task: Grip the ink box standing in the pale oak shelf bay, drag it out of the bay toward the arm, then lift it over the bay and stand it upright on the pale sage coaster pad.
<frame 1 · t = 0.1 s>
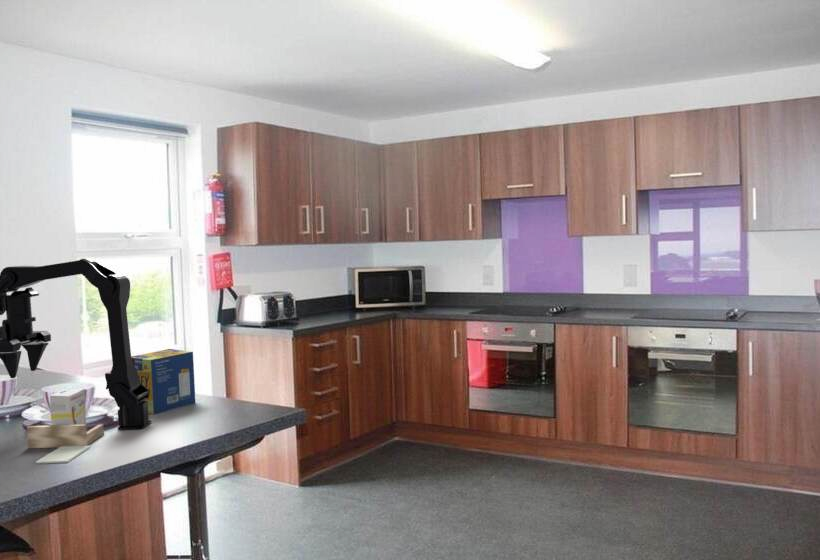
hand: (23, 374, 183), 15 cm above the breakfast bar, fingers open, 9 cm apart
coaster pad: (64, 455, 160), on the breakfast bar
ink box: (70, 439, 174), on the breakfast bar
protein box: (163, 407, 204), on the breakfast bar
shelf bay: (70, 439, 174), on the breakfast bar
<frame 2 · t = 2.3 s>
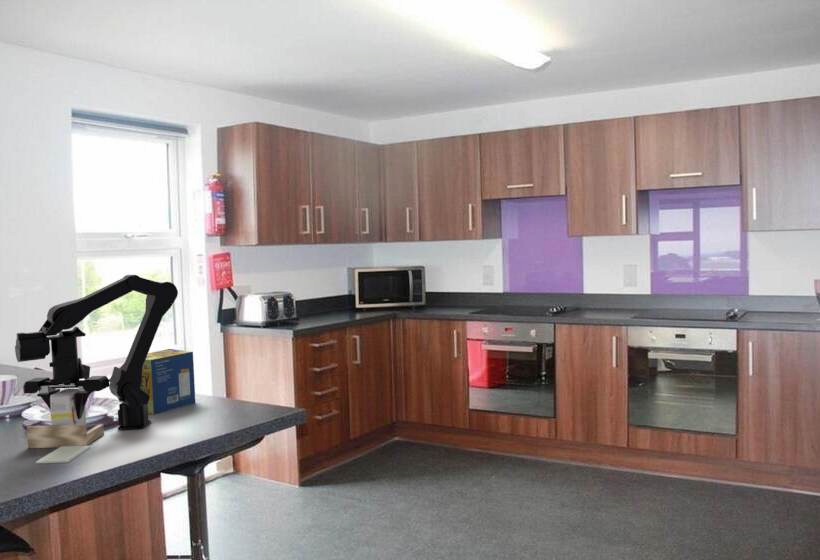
hand: (69, 419, 173), 5 cm above the breakfast bar, fingers closed on ink box, 5 cm apart
ink box: (70, 439, 174), on the breakfast bar, touching gripper
everything else where it was.
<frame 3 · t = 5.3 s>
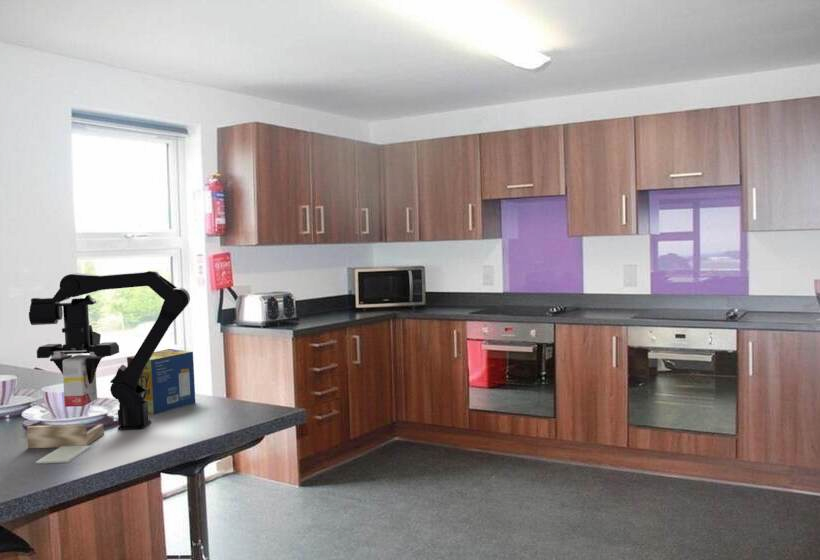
hand: (80, 383, 180), 12 cm above the breakfast bar, fingers closed on ink box, 5 cm apart
ink box: (81, 403, 180), point 7 cm above the breakfast bar, touching gripper
everything else where it was.
when the fingers open (6 cm above the breakfast bar, at t = 8.6 s): ink box stays where it is, resting on coaster pad.
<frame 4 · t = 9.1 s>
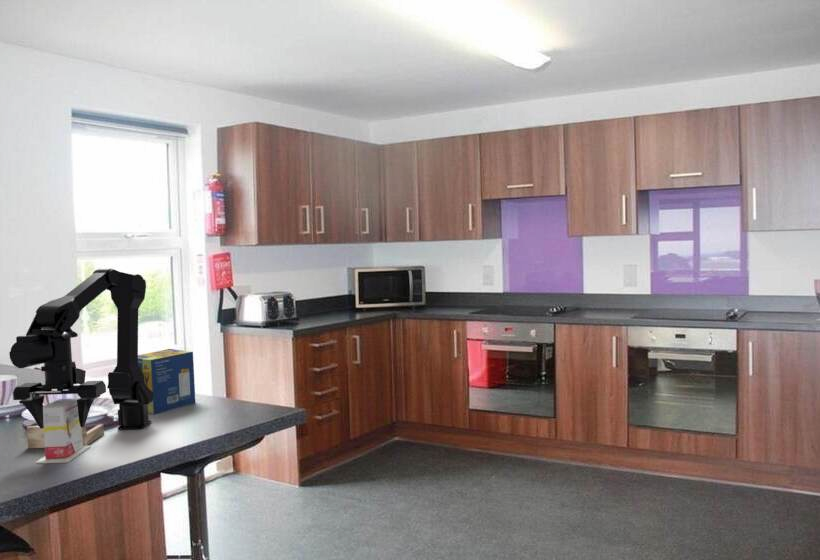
hand: (62, 427, 160), 6 cm above the breakfast bar, fingers open, 9 cm apart
ink box: (64, 454, 161), resting on coaster pad
everything else where it was.
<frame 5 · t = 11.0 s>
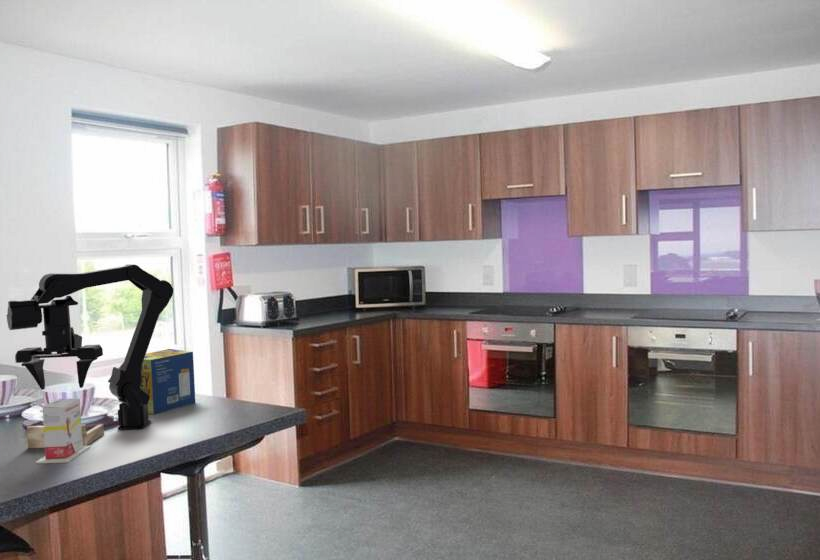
hand: (62, 388, 172), 13 cm above the breakfast bar, fingers open, 9 cm apart
nothing on the breakfast bar moved.
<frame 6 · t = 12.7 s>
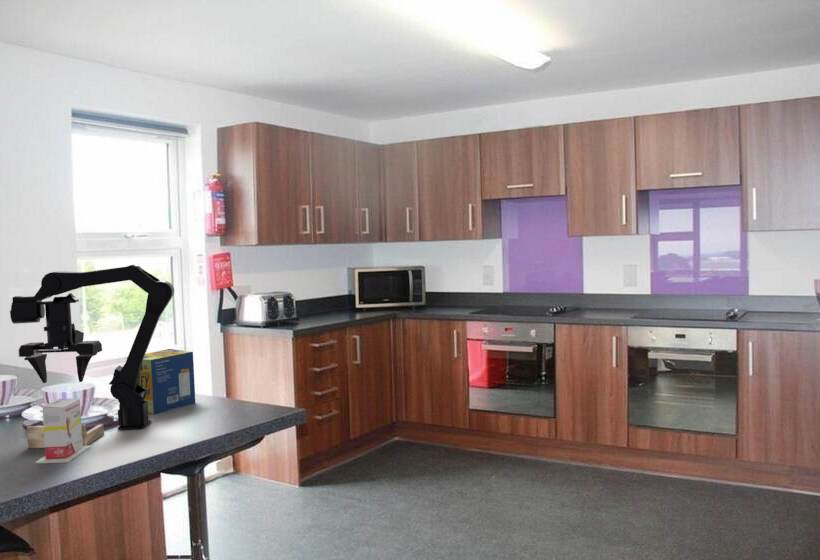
hand: (63, 382, 179), 13 cm above the breakfast bar, fingers open, 9 cm apart
nothing on the breakfast bar moved.
at the end: ink box 0.1 cm off-centre on the coaster pad, point 0.2 cm above the coaster pad's base; ink box tilted 0°; the gripper is holding nothing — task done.
